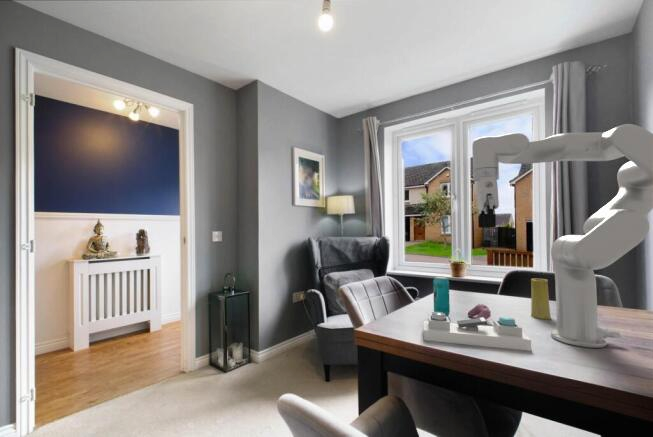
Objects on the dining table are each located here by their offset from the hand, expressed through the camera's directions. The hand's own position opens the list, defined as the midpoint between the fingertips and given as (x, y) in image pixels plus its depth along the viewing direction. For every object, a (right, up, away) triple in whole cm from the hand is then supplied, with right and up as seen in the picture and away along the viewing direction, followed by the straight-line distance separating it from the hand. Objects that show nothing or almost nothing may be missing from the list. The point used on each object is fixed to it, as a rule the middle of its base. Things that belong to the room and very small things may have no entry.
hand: (486, 227), depth 96 cm
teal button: (+1, -29, -9) cm, 31 cm away
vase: (+30, -35, +17) cm, 49 cm away
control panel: (-8, -34, -6) cm, 35 cm away
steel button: (-17, -30, -3) cm, 34 cm away
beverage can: (-7, -35, +19) cm, 41 cm away
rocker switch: (-8, -29, -6) cm, 31 cm away
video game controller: (+4, -35, +13) cm, 38 cm away
